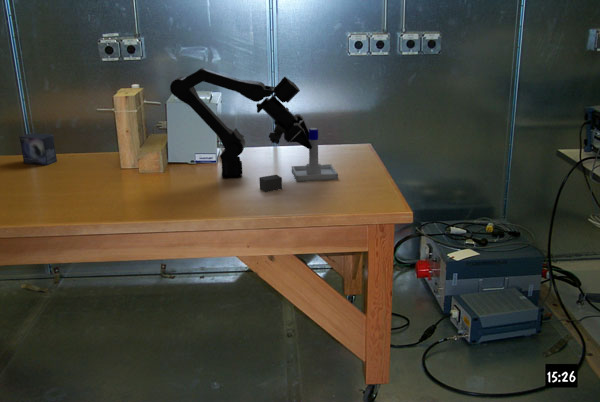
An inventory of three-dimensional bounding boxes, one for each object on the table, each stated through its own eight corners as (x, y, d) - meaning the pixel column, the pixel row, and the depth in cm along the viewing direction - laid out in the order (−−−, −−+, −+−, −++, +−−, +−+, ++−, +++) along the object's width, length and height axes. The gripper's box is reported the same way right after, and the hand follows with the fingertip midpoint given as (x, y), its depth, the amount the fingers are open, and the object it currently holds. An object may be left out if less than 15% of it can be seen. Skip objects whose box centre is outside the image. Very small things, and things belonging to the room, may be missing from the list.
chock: (265, 192, 197) (264, 180, 196) (259, 189, 200) (259, 177, 199) (282, 189, 200) (281, 177, 198) (276, 186, 203) (276, 174, 202)
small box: (22, 164, 232) (18, 136, 228) (34, 159, 238) (30, 132, 234) (46, 166, 229) (42, 138, 226) (57, 161, 235) (54, 134, 231)
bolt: (322, 175, 211) (307, 176, 211) (319, 171, 216) (305, 172, 215) (322, 130, 206) (307, 130, 206) (319, 127, 211) (305, 127, 210)
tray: (296, 181, 207) (296, 176, 206) (291, 171, 218) (291, 166, 217) (337, 179, 209) (337, 173, 208) (331, 169, 220) (331, 164, 219)
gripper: (263, 123, 217) (295, 154, 221) (258, 135, 200) (293, 169, 203) (286, 100, 215) (318, 132, 218) (283, 111, 197) (317, 145, 200)
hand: (311, 145), depth 210 cm, fingers open, 9 cm apart
